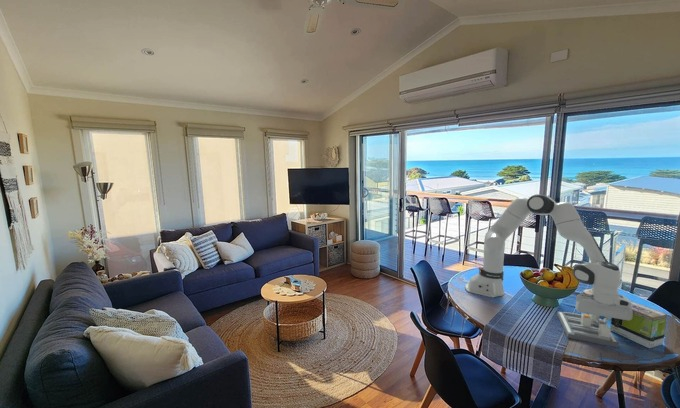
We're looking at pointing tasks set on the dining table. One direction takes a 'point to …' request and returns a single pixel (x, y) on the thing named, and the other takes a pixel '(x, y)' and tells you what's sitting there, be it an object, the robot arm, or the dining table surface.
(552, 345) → the dining table surface
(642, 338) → the tea box
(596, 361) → the dining table surface
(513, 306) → the dining table surface
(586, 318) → the breaker
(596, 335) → the panel
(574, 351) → the dining table surface
